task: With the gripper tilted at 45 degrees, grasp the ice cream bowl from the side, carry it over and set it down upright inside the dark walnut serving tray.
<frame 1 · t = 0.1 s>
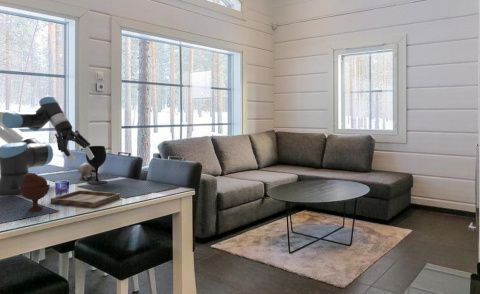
hand: (83, 159, 184), 15 cm above the table, tool tilted 35°, fingers open, 13 cm apart
ice cream bowl: (35, 210, 149), on the table
tray: (86, 200, 165), on the table
elephant figurine: (87, 178, 220), on the table
wine glass: (96, 183, 206), on the table
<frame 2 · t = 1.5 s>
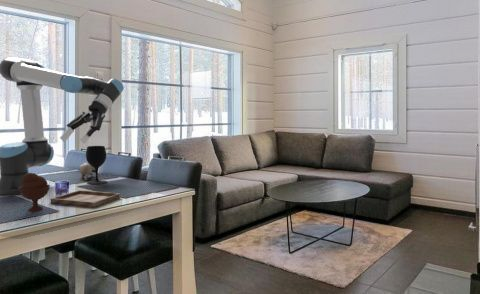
hand: (72, 140, 161), 27 cm above the table, tool tilted 45°, fingers open, 13 cm apart
nothing on the table moved.
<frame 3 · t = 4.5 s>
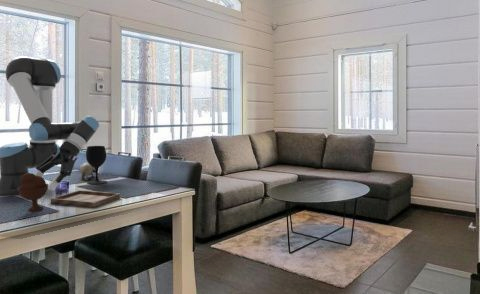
hand: (40, 186, 149), 9 cm above the table, tool tilted 45°, fingers open, 13 cm apart
ice cream bowl: (35, 210, 149), on the table, touching gripper
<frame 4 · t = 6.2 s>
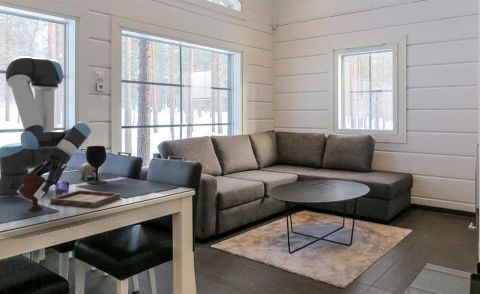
hand: (27, 195, 146), 6 cm above the table, tool tilted 45°, fingers closed on ice cream bowl, 11 cm apart
ice cream bowl: (35, 210, 149), on the table, touching gripper
everything else where it was.
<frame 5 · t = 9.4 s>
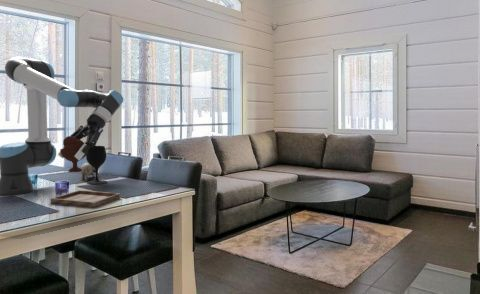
hand: (68, 157, 156), 20 cm above the table, tool tilted 45°, fingers closed on ice cream bowl, 11 cm apart
ice cream bowl: (75, 171, 159), point 14 cm above the table, touching gripper
when the fingers open (9 cm above the table, at t = 12.6 s): ice cream bowl drops 2 cm, resting on tray.
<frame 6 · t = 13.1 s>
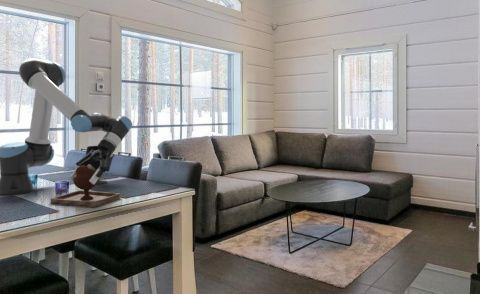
hand: (81, 181, 162), 9 cm above the table, tool tilted 45°, fingers open, 13 cm apart
ice cream bowl: (86, 199, 165), point 1 cm above the table, touching tray
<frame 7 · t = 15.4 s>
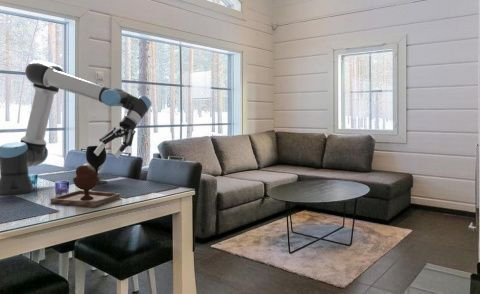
hand: (105, 155, 172), 19 cm above the table, tool tilted 45°, fingers open, 13 cm apart
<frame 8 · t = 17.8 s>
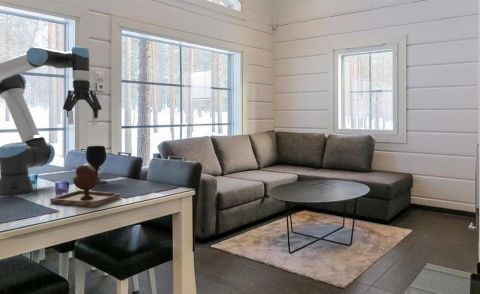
hand: (82, 124, 181), 33 cm above the table, tool pointing down, fingers open, 13 cm apart
at the end: ice cream bowl inside the target area on the tray (0.1 cm from its centre), point 0.6 cm above the tray's base; ice cream bowl tilted 0°; the gripper is holding nothing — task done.
